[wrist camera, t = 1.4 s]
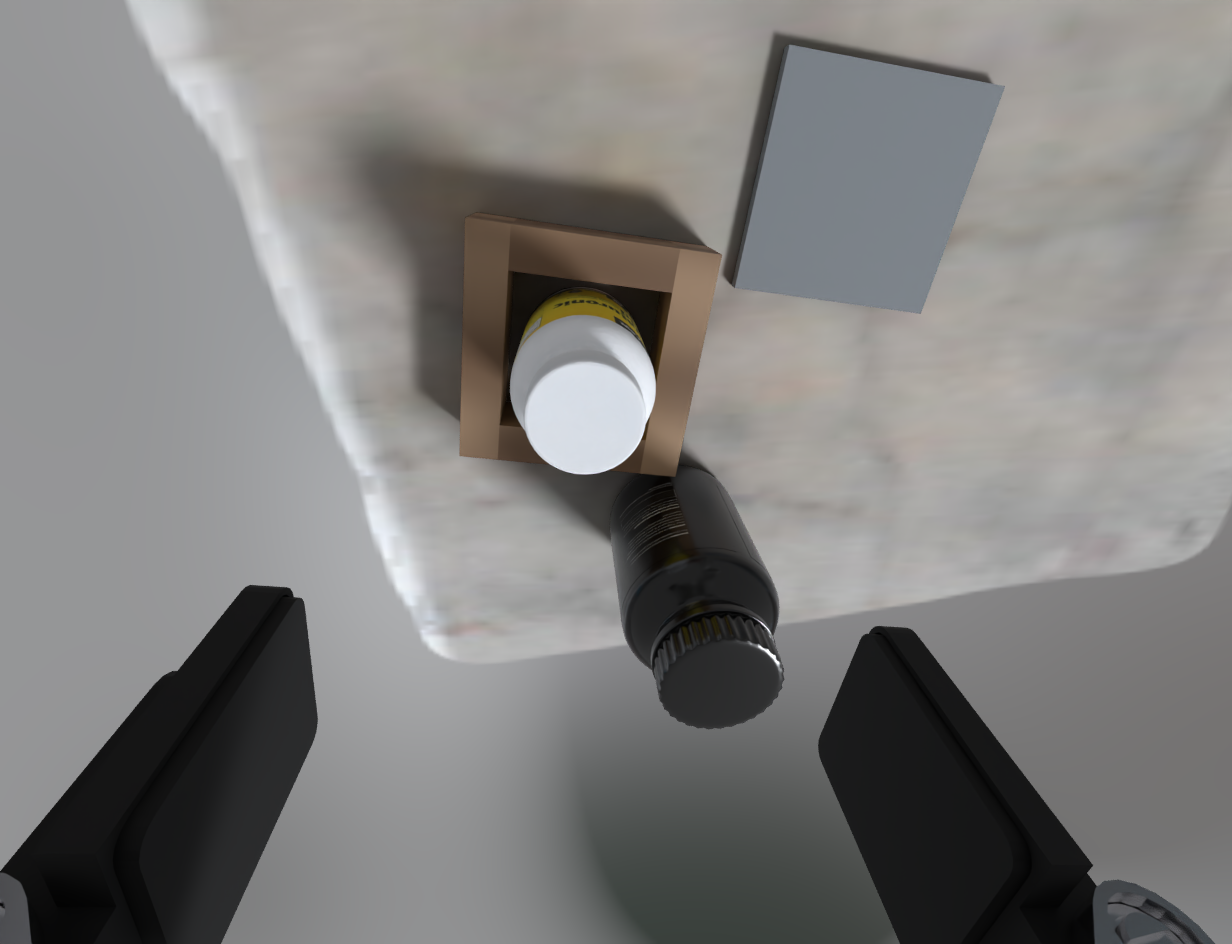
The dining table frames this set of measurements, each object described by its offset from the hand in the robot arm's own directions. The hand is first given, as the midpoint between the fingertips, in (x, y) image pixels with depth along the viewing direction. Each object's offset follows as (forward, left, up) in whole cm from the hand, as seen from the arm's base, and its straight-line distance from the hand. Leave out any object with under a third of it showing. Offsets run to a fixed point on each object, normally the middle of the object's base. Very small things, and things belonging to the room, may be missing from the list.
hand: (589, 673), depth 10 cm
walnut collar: (0, 0, -20) cm, 20 cm away
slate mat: (-8, +11, -20) cm, 24 cm away
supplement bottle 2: (+9, +6, -20) cm, 23 cm away
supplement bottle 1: (0, 0, -20) cm, 20 cm away
